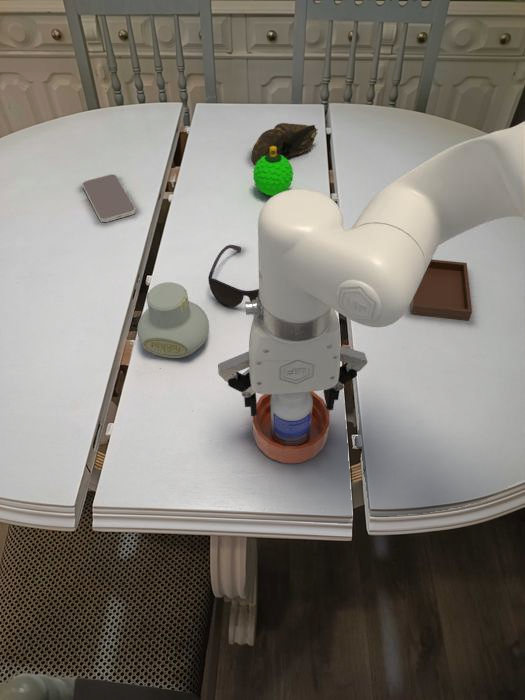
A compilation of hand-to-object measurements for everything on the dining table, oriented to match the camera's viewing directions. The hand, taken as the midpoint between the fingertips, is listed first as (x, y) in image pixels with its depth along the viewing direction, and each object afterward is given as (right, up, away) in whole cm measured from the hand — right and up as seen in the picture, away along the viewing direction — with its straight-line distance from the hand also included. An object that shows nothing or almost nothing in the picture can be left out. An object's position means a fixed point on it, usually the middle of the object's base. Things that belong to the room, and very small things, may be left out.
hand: (290, 403), depth 68 cm
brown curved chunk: (+1, +52, +54) cm, 75 cm away
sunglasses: (-5, +19, +26) cm, 32 cm away
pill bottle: (0, -4, +5) cm, 6 cm away
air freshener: (-17, +8, +16) cm, 25 cm away
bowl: (0, -4, +5) cm, 7 cm away
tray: (+26, +17, +23) cm, 39 cm away
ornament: (-1, +39, +43) cm, 58 cm away
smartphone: (-35, +38, +42) cm, 67 cm away
